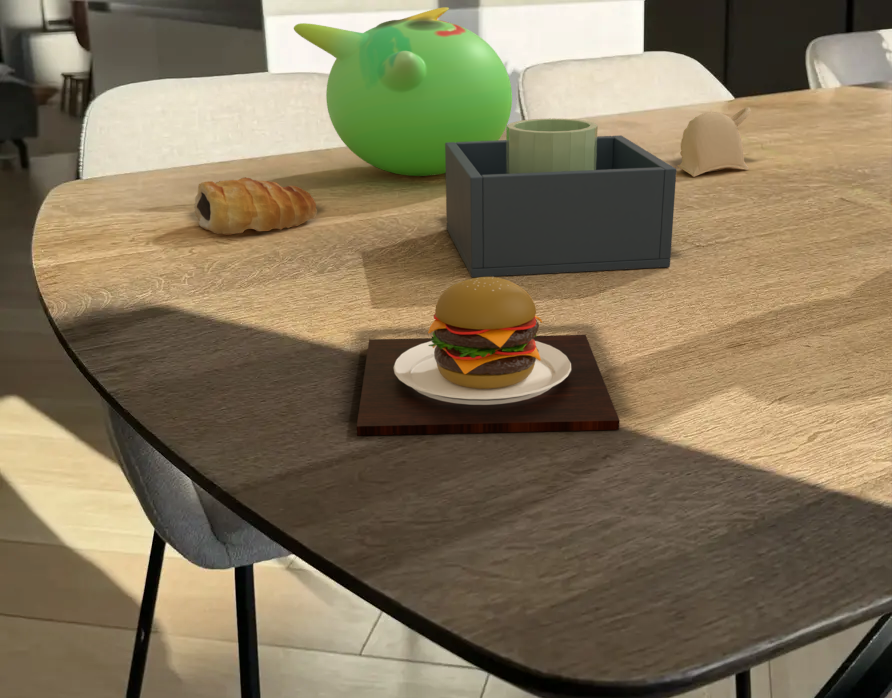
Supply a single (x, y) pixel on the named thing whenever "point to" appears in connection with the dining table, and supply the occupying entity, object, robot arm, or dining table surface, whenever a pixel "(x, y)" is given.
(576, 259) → the bin
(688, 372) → the dining table surface
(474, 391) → the hamburger
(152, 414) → the dining table surface
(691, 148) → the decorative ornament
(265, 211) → the pastry
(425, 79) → the toy bird
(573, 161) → the tub
